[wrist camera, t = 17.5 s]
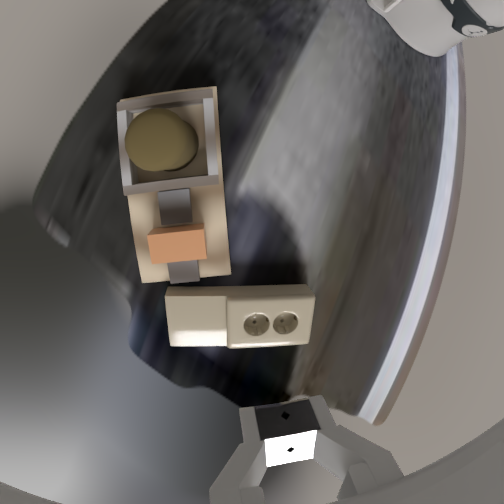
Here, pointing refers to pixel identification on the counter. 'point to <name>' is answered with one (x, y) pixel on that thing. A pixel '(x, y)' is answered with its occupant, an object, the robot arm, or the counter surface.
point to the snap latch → (177, 243)
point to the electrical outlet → (240, 315)
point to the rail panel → (178, 187)
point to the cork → (160, 141)
